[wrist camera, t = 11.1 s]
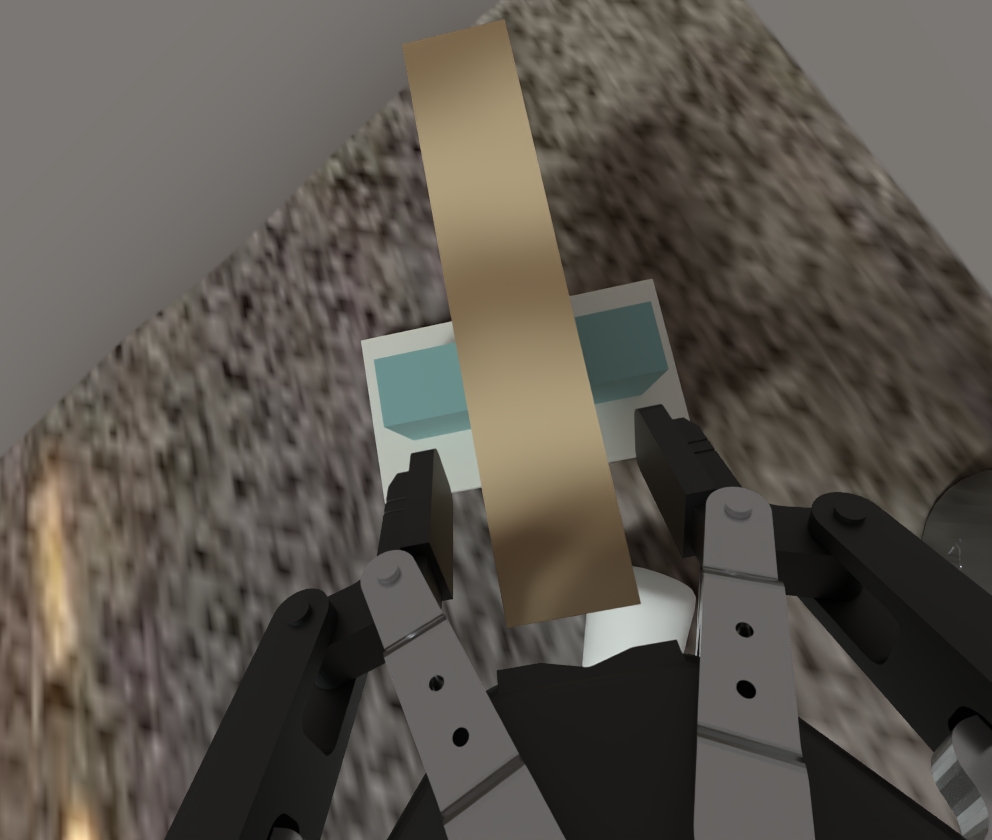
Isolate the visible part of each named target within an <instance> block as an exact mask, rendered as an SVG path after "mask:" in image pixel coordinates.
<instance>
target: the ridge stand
mask: <svg viewBox="0 0 992 840" xmlns="http://www.w3.org/2000/svg"><path fill="white" fill-rule="evenodd" d="M569 297H570V302H571V306H572V310H573V315H574V319H575V323H576V327H577V332H578V336H579V340H580V345H581V349H582V353H583V357H584V362H585V366H586V370H587V374H588V379H589V383H590V387H591V392H592V396H593V400H594V404H595V409H596V413H597V417H598V422H599V426H600V430H601V434H602V439H603V443H604V447H605V451H606V456H607V460H608V463H610V462H615V461H620V460H625V459H631V458H636V452H635V426H634V412H635V409H638V408H643V407H648V406H653V405H658V404H662V405H663V406H664V407H665V409H666V410H667V412H668V413H669V415H670V416H671V418H672V419H677V418H682V417H684V418H686V419H687V420H689V421H690V419H689V415H688V411H687V408H686V404H685V400H684V396H683V392H682V388H681V385H680V381H679V377H678V373H677V369H676V366H675V362H674V358H673V354H672V350H671V347H670V343H669V339H668V335H667V331H666V328H665V324H664V320H663V316H662V312H661V309H660V305H659V301H658V297H657V293H656V290H655V286H654V282H653V279H648V280H644V281H639V282H634V283H629V284H625V285H620V286H615V287H611V288H606V289H601V290H597V291H592V292H587V293H583V294H578V295H573V296H569ZM361 343H362V350H363V357H364V363H365V370H366V377H367V384H368V390H369V397H370V404H371V411H372V418H373V424H374V431H375V438H376V445H377V452H378V458H379V465H380V472H381V479H382V485H383V492H384V499H385V504H386V497H387V491H388V486H389V485H390V483H391V482H392V480H393V479H394V477H395V476H396V474H397V473H401V472H406V471H409V464H410V456H411V453H415V452H420V451H425V450H430V449H435V448H436V449H437V451H438V453H439V456H440V459H441V462H442V465H443V468H444V470H445V473H446V476H447V479H448V482H449V485H450V489H451V493H455V492H461V491H466V490H471V489H476V488H481V487H482V486H481V481H480V475H479V469H478V464H477V458H476V453H475V447H474V442H473V436H472V431H471V425H470V419H469V414H468V408H467V403H466V397H465V392H464V386H463V380H462V375H461V369H460V364H459V358H458V353H457V347H456V341H455V336H454V330H453V325H452V321H451V322H447V323H442V324H437V325H433V326H428V327H423V328H418V329H414V330H409V331H404V332H400V333H395V334H390V335H386V336H381V337H376V338H372V339H367V340H362V341H361Z"/></svg>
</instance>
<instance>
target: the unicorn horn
mask: <svg viewBox="0 0 992 840" xmlns="http://www.w3.org/2000/svg"><path fill="white" fill-rule="evenodd" d="M632 567H633V571H634V575H635V580H636V584H637V588H638V593H639V597H640V601H641V604H639V605H633V606H628V607H622V608H616V609H611V610H605V611H599V612H594V613H588V614H587V615H586V627H585V639H584V651H583V663H582V666H583V667H590V666H593V665H595V664H597V663H599V662H601V661H604V660H606V659H608V658H610V657H612V656H614V655H616V654H618V653H620V652H623V651H625V650H627V649H629V648H631V647H635V646H641V645H647V644H653V643H658V642H664V641H670V640H676V639H677V641H678V644H679V646H680V649H681V651H682V653H684V651H685V647H686V642H687V638H688V634H689V630H690V626H691V622H692V618H693V615H694V610H695V602H696V597H695V595H694V592H693V590H692V589H691V588H689V587H688V586H687V585H685V584H684V583H682V582H680V581H678V580H676V579H674V578H671V577H669V576H666V575H664V574H661V573H658V572H655V571H652V570H648V569H645V568H640V567H635V566H632Z"/></svg>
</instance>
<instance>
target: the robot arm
mask: <svg viewBox="0 0 992 840" xmlns="http://www.w3.org/2000/svg"><path fill="white" fill-rule="evenodd" d="M634 426H635V452H636V458H637V462H638V465H639V468H640V471H641V473H642V475H643V477H644V479H645V481H646V483H647V485H648V487H649V489H650V491H651V494H652V496H653V498H654V500H655V502H656V504H657V506H658V508H659V510H660V512H661V514H662V516H663V518H664V520H665V523H666V525H667V527H668V529H669V531H670V533H671V535H672V537H673V539H674V541H675V543H676V545H677V547H678V549H679V552H680V554H681V556H682V558H685V557H691V556H696V557H697V559H698V561H699V563H700V565H701V566H700V579H699V598H698V618H697V637H696V652H695V655H692V654H685V653H682V651H681V649H680V646H679V644H678V641H677V639H676V640H670V641H664V642H658V643H653V644H647V645H641V646H635V647H631V648H629V649H627V650H625V651H623V652H620V653H618V654H616V655H614V656H612V657H610V658H608V659H606V660H604V661H601V662H599V663H597V664H595V665H593V666H590V667H578V666H567V665H556V664H546V663H538V664H532V665H526V666H520V667H515V668H509V669H503V670H497V679H498V685H496V686H494V687H492V688H490V689H489V690H487V691H485V689H484V687H483V685H482V684H481V682H480V680H479V678H478V676H477V674H476V672H475V670H474V669H473V667H472V665H471V663H470V661H469V659H468V657H467V655H466V654H465V652H464V650H463V648H462V646H461V644H460V642H459V640H458V639H457V637H456V635H455V633H454V631H453V629H452V627H451V625H450V624H449V622H448V620H447V618H446V616H445V615H444V614H443V613H442V611H441V608H442V601H445V600H450V599H453V499H452V493H451V489H450V485H449V482H448V479H447V476H446V473H445V470H444V468H443V465H442V462H441V459H440V456H439V453H438V451H437V449H436V448H435V449H430V450H425V451H420V452H415V453H411V456H410V464H409V471H406V472H401V473H397V474H396V476H395V477H394V479H393V480H392V482H391V483H390V485H389V486H388V491H387V497H386V504H385V510H384V513H385V514H384V516H383V522H382V529H381V535H380V541H379V547H378V553H377V557H375V558H374V559H373V560H372V561H371V562H370V563H369V564H368V565H367V566H366V568H365V569H364V571H363V573H362V576H361V580H359V581H358V582H356V583H355V584H353V585H351V586H349V587H347V588H345V589H343V590H341V591H339V592H337V593H335V594H332V595H330V596H328V597H327V595H326V594H325V593H324V592H323V591H321V590H319V589H305V590H302V591H299V592H297V593H295V594H293V595H292V596H290V597H289V598H287V599H286V600H285V601H284V602H283V603H282V604H281V605H280V606H279V607H278V609H277V610H276V612H275V613H274V615H273V617H272V619H271V621H270V623H269V625H268V627H267V629H266V631H265V633H264V636H263V638H262V640H261V642H260V644H259V646H258V648H257V650H256V652H255V654H254V656H253V658H252V660H251V662H250V664H249V666H248V668H247V671H246V673H245V675H244V677H243V679H242V681H241V683H240V685H239V687H238V689H237V691H236V693H235V695H234V697H233V699H232V701H231V703H230V706H229V708H228V710H227V712H226V714H225V716H224V718H223V720H222V722H221V724H220V726H219V728H218V730H217V732H216V734H215V736H214V738H213V740H212V743H211V745H210V747H209V749H208V751H207V753H206V755H205V757H204V759H203V761H202V763H201V765H200V767H199V769H198V771H197V773H196V775H195V778H194V780H193V782H192V784H191V786H190V788H189V790H188V792H187V794H186V796H185V798H184V800H183V802H182V804H181V806H180V808H179V810H178V813H177V815H176V817H175V819H174V821H173V823H172V825H171V827H170V829H169V831H168V833H167V835H166V837H165V839H164V840H320V838H321V835H322V831H323V828H324V824H325V821H326V817H327V814H328V810H329V807H330V803H331V800H332V796H333V793H334V789H335V786H336V782H337V779H338V775H339V772H340V768H341V765H342V761H343V758H344V754H345V751H346V747H347V744H348V740H349V737H350V733H351V730H352V726H353V723H354V719H355V716H356V712H357V709H358V705H359V702H360V698H361V695H362V691H363V688H364V684H365V681H366V677H367V674H368V672H369V671H371V670H373V669H374V668H376V667H378V666H380V665H382V664H384V663H386V665H387V667H388V670H389V673H390V676H391V678H392V681H393V684H394V686H395V689H396V692H397V694H398V697H399V700H400V703H401V705H402V708H403V711H404V713H405V716H406V719H407V722H408V724H409V727H410V730H411V732H412V735H413V738H414V740H415V743H416V746H417V749H418V751H419V754H420V757H421V759H422V762H423V765H424V768H425V770H426V773H425V775H424V777H423V779H422V780H421V782H420V784H419V785H418V787H417V789H416V791H415V792H414V794H413V796H412V797H411V799H410V801H409V803H408V804H407V806H406V808H405V810H404V811H403V813H402V815H401V816H400V818H399V820H398V822H397V823H396V825H395V827H394V828H393V830H392V832H391V834H390V835H389V837H388V839H387V840H992V470H986V471H981V472H979V473H976V474H974V475H971V476H969V477H966V478H964V479H962V480H961V481H959V482H958V483H957V484H955V485H954V486H952V487H951V488H949V489H948V490H947V491H946V492H945V493H944V495H943V496H942V497H941V498H940V499H939V500H938V501H937V503H936V504H935V505H934V507H933V509H932V511H931V513H930V515H929V517H928V519H927V521H926V525H925V530H924V534H923V538H922V540H921V539H919V538H918V537H917V536H915V535H914V534H913V533H912V532H910V531H909V530H908V529H907V528H905V527H904V526H903V525H901V524H900V523H899V522H898V521H896V520H895V519H894V518H893V517H891V516H890V515H889V514H887V513H886V512H885V511H884V510H882V509H881V508H880V507H879V506H877V505H876V504H874V503H873V502H871V501H869V500H868V499H865V498H863V497H861V496H858V495H854V494H850V493H843V492H833V493H827V494H824V495H821V496H819V497H818V498H817V499H816V500H815V501H814V502H813V505H812V508H803V507H787V506H777V505H772V504H769V503H768V502H767V501H766V500H765V499H764V498H763V497H762V496H761V495H759V494H758V493H756V492H754V491H751V490H749V489H745V488H742V487H741V485H740V484H739V482H738V481H737V480H736V478H735V477H734V475H733V474H732V473H731V471H730V470H729V468H728V467H727V466H726V464H725V463H724V461H723V460H722V459H721V457H720V456H719V454H718V453H717V452H716V451H715V450H714V447H713V446H712V445H711V443H710V442H709V441H708V440H707V438H706V436H705V435H704V433H703V432H702V431H701V429H700V428H699V426H697V425H695V424H694V423H692V422H691V421H689V420H687V419H686V418H684V417H682V418H677V419H672V418H671V416H670V415H669V413H668V412H667V410H666V409H665V407H664V406H663V405H662V404H658V405H653V406H648V407H643V408H638V409H635V412H634ZM786 595H792V596H798V598H799V599H800V600H801V601H802V602H803V603H804V605H805V606H806V607H807V608H808V609H809V610H810V611H811V613H812V614H813V615H814V616H815V617H816V618H817V619H818V621H819V622H820V623H821V624H822V625H823V626H824V627H825V628H826V630H827V631H828V632H829V633H830V634H831V635H832V636H833V638H834V639H835V640H836V641H837V642H838V643H839V644H840V646H841V647H842V648H843V649H844V650H845V651H846V652H847V654H848V655H849V656H850V657H851V658H852V659H853V660H854V662H855V663H856V664H857V665H858V666H859V667H860V668H861V670H862V671H863V672H864V673H865V674H866V675H867V676H868V678H869V679H870V680H871V681H872V682H873V683H874V684H875V686H876V687H877V688H878V689H879V690H880V691H881V692H882V694H883V695H884V696H885V697H886V698H887V699H888V700H889V702H890V703H891V704H892V705H893V706H894V707H895V708H896V710H897V711H898V712H899V713H900V714H901V715H902V716H903V718H904V719H905V720H906V721H907V722H908V723H909V724H910V726H911V727H912V728H913V729H914V730H915V731H916V732H917V734H918V735H919V736H920V737H921V738H922V739H923V740H924V742H925V743H926V744H927V745H928V746H929V747H930V748H931V750H932V751H933V752H934V753H933V755H932V759H931V770H932V775H933V778H934V781H935V783H936V785H937V787H938V789H939V791H940V792H941V794H942V795H943V797H944V798H945V799H946V801H947V803H948V805H949V806H950V808H951V809H952V810H953V812H954V814H955V816H956V817H957V820H958V823H959V825H960V828H961V833H962V835H960V834H959V833H958V832H956V831H955V830H954V829H952V828H951V827H949V826H948V825H947V824H945V823H944V822H943V821H941V820H940V819H938V818H937V817H936V816H934V815H933V814H932V813H930V812H929V811H927V810H926V809H925V808H923V807H922V806H921V805H919V804H918V803H916V802H915V801H914V800H912V799H911V798H910V797H908V796H907V795H905V794H904V793H903V792H901V791H900V790H899V789H897V788H896V787H894V786H893V785H892V784H890V783H889V782H888V781H886V780H885V779H883V778H882V777H881V776H879V775H878V774H877V773H875V772H874V771H872V770H871V769H870V768H868V767H867V766H866V765H864V764H863V763H861V762H860V761H859V760H857V759H856V758H855V757H853V756H852V755H850V754H849V753H848V752H846V751H845V750H844V749H842V748H841V747H839V746H838V745H837V744H835V743H834V742H833V741H831V740H830V739H828V738H827V737H826V736H824V735H823V734H822V733H820V732H819V731H817V730H816V729H815V728H813V727H812V726H811V725H809V724H808V723H806V722H805V721H804V720H802V719H801V718H800V717H798V714H797V704H796V694H795V684H794V674H793V664H792V654H791V644H790V634H789V624H788V614H787V604H786Z"/></svg>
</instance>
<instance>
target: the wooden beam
mask: <svg viewBox="0 0 992 840" xmlns="http://www.w3.org/2000/svg"><path fill="white" fill-rule="evenodd" d="M402 46H403V52H404V57H405V63H406V69H407V74H408V80H409V85H410V91H411V97H412V102H413V108H414V113H415V119H416V124H417V130H418V135H419V141H420V147H421V152H422V158H423V163H424V169H425V174H426V180H427V186H428V191H429V197H430V202H431V208H432V213H433V219H434V225H435V230H436V236H437V241H438V247H439V252H440V258H441V264H442V269H443V275H444V280H445V286H446V291H447V297H448V302H449V308H450V314H451V319H452V325H453V330H454V336H455V341H456V347H457V353H458V358H459V364H460V369H461V375H462V380H463V386H464V392H465V397H466V403H467V408H468V414H469V419H470V425H471V431H472V436H473V442H474V447H475V453H476V458H477V464H478V469H479V475H480V481H481V486H482V492H483V497H484V503H485V508H486V514H487V520H488V525H489V531H490V536H491V542H492V547H493V553H494V559H495V564H496V570H497V575H498V581H499V586H500V592H501V598H502V603H503V609H504V614H505V620H506V625H507V628H510V627H515V626H521V625H527V624H532V623H538V622H543V621H549V620H555V619H560V618H566V617H571V616H577V615H583V614H588V613H594V612H599V611H605V610H611V609H616V608H622V607H628V606H633V605H639V604H641V601H640V597H639V593H638V588H637V584H636V580H635V575H634V571H633V567H632V563H631V558H630V554H629V550H628V546H627V541H626V537H625V533H624V528H623V524H622V520H621V516H620V511H619V507H618V503H617V498H616V494H615V490H614V486H613V481H612V477H611V473H610V469H609V464H608V460H607V456H606V451H605V447H604V443H603V439H602V434H601V430H600V426H599V422H598V417H597V413H596V409H595V404H594V400H593V396H592V392H591V387H590V383H589V379H588V374H587V370H586V366H585V362H584V357H583V353H582V349H581V345H580V340H579V336H578V332H577V327H576V323H575V319H574V315H573V310H572V306H571V302H570V297H569V293H568V289H567V285H566V280H565V276H564V272H563V268H562V263H561V259H560V255H559V250H558V246H557V242H556V238H555V233H554V229H553V225H552V221H551V216H550V212H549V208H548V203H547V199H546V195H545V191H544V186H543V182H542V178H541V173H540V169H539V165H538V161H537V156H536V152H535V148H534V144H533V139H532V135H531V131H530V126H529V122H528V118H527V114H526V109H525V105H524V101H523V96H522V92H521V88H520V84H519V79H518V75H517V71H516V67H515V62H514V58H513V54H512V49H511V45H510V41H509V37H508V32H507V28H506V24H505V19H504V20H499V21H495V22H491V23H487V24H483V25H479V26H475V27H471V28H467V29H463V30H459V31H455V32H451V33H446V34H442V35H439V36H434V37H430V38H426V39H422V40H418V41H414V42H410V43H406V44H402Z"/></svg>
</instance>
